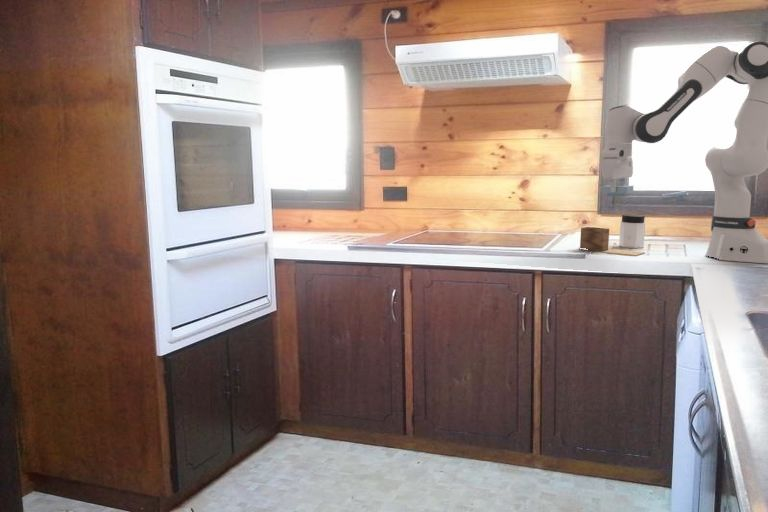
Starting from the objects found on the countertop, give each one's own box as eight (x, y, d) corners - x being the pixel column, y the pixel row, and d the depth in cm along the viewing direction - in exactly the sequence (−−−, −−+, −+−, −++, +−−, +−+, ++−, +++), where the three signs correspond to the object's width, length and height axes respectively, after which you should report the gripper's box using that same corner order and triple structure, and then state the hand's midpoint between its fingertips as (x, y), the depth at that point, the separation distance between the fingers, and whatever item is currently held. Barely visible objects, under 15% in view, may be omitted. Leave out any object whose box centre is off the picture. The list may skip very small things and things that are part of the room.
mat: (644, 253, 252) (644, 252, 252) (636, 256, 245) (636, 255, 245) (611, 250, 259) (611, 249, 259) (602, 252, 252) (602, 251, 252)
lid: (633, 195, 251) (633, 185, 250) (627, 197, 246) (627, 186, 246) (607, 195, 257) (608, 185, 256) (601, 196, 252) (601, 186, 251)
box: (608, 250, 258) (609, 228, 257) (602, 252, 254) (604, 229, 253) (585, 248, 264) (586, 226, 262) (579, 249, 259) (580, 228, 258)
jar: (616, 247, 268) (618, 215, 266) (621, 244, 275) (623, 213, 273) (641, 248, 263) (643, 216, 262) (645, 246, 271) (647, 215, 269)
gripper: (620, 151, 259) (619, 189, 261) (598, 152, 243) (597, 193, 245) (637, 151, 255) (636, 189, 257) (616, 152, 239) (615, 193, 241)
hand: (617, 191), depth 251 cm, fingers closed on lid, 6 cm apart
